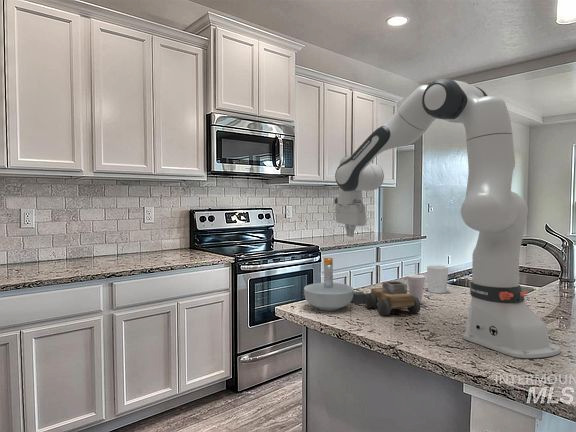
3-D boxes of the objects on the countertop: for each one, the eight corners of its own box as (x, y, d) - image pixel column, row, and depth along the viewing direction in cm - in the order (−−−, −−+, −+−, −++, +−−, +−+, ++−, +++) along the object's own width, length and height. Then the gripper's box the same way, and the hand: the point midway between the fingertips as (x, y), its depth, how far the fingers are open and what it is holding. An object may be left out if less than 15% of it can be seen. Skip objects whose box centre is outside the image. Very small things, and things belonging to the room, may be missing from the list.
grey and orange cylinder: (334, 288, 136) (334, 258, 136) (325, 288, 135) (325, 259, 135) (331, 286, 139) (330, 257, 139) (322, 286, 138) (322, 258, 138)
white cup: (451, 293, 156) (451, 268, 156) (430, 294, 156) (430, 268, 156) (443, 289, 164) (443, 265, 164) (424, 289, 164) (424, 265, 164)
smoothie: (423, 300, 146) (423, 262, 145) (427, 305, 139) (427, 265, 139) (405, 300, 146) (405, 262, 146) (408, 305, 140) (408, 265, 140)
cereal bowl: (294, 308, 137) (293, 287, 137) (323, 299, 149) (323, 280, 149) (334, 317, 126) (334, 295, 125) (363, 307, 138) (363, 286, 138)
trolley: (420, 314, 129) (420, 286, 128) (385, 317, 125) (385, 288, 125) (397, 303, 142) (397, 278, 142) (365, 306, 139) (365, 280, 139)
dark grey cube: (366, 303, 143) (366, 294, 143) (356, 304, 142) (356, 294, 142) (361, 301, 147) (361, 291, 147) (351, 301, 146) (351, 292, 146)
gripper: (370, 199, 141) (370, 238, 142) (347, 199, 161) (347, 234, 161) (354, 199, 139) (353, 239, 140) (332, 199, 159) (332, 234, 160)
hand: (350, 236), depth 151 cm, fingers closed
